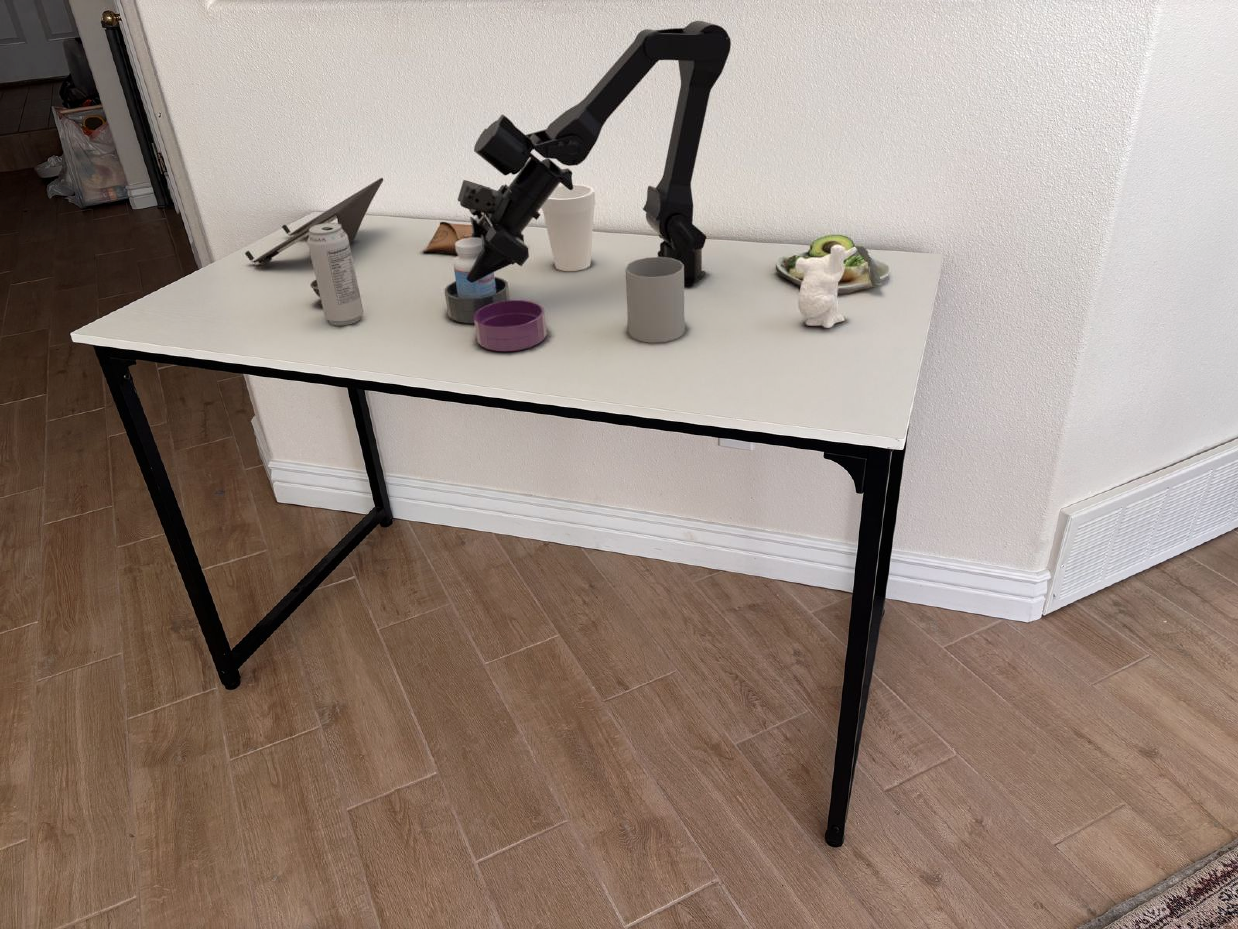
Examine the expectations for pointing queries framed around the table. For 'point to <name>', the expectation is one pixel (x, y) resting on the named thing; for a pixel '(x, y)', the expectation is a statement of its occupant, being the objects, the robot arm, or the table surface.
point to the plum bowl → (510, 325)
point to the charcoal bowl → (472, 301)
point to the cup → (655, 299)
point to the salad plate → (857, 266)
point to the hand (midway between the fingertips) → (465, 274)
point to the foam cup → (570, 226)
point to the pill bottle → (462, 266)
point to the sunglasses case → (449, 237)
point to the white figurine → (822, 286)
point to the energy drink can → (335, 273)
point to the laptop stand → (344, 212)
